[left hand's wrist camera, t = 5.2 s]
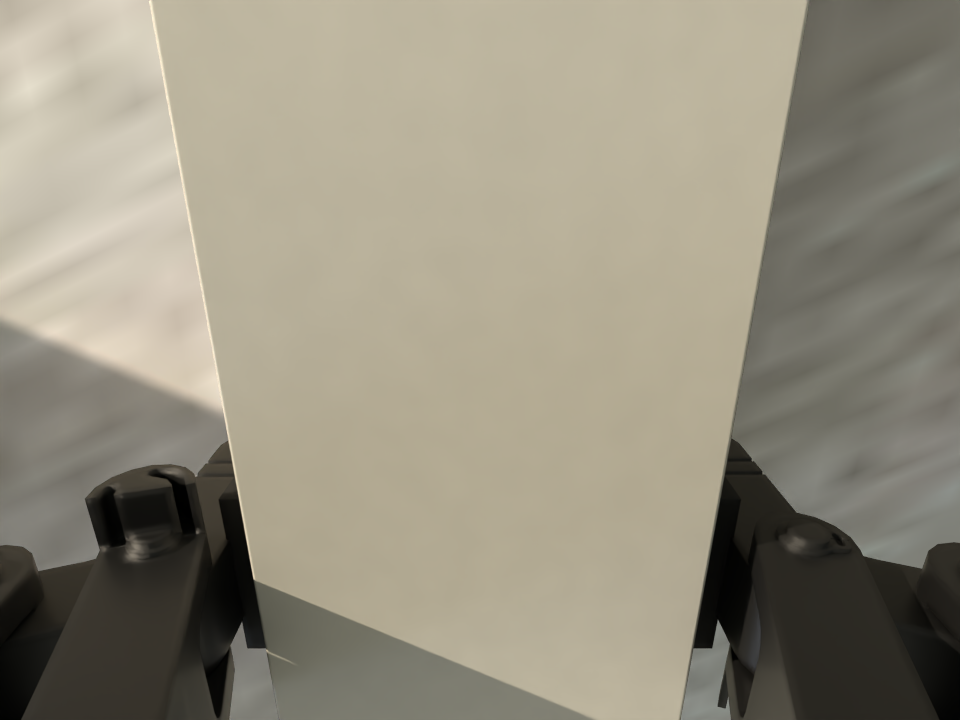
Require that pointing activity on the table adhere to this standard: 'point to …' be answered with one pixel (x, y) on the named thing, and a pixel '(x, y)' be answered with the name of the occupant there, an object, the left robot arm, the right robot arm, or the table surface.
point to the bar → (479, 330)
